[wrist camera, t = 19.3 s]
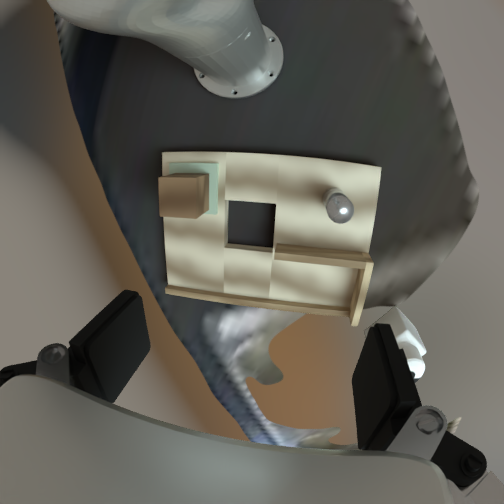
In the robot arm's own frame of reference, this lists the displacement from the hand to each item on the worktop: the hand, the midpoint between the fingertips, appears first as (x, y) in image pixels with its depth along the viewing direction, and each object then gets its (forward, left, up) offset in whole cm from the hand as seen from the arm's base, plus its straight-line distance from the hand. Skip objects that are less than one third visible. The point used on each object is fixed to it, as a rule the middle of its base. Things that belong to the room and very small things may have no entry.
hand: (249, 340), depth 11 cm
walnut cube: (-1, -13, -28) cm, 30 cm away
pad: (-1, -13, -28) cm, 31 cm away
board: (+5, -3, -30) cm, 31 cm away
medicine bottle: (+20, +20, -31) cm, 42 cm away
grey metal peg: (-1, +6, -28) cm, 29 cm away
